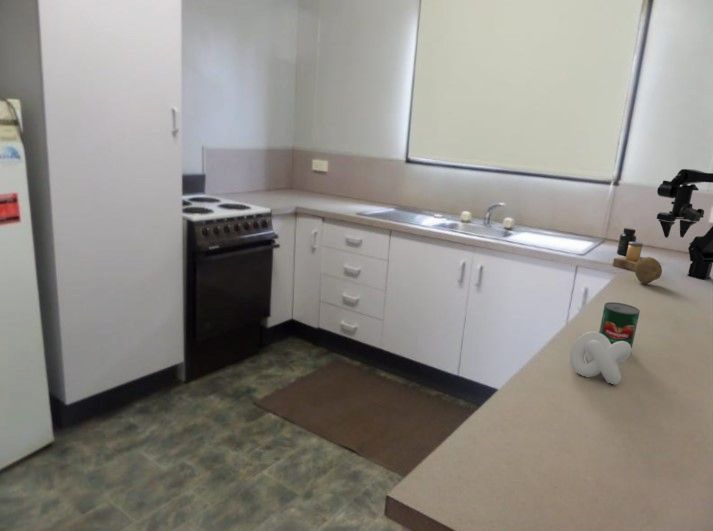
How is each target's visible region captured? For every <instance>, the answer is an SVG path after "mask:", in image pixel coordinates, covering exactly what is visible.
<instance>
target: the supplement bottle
mask: <svg viewBox="0 0 713 531" xmlns="http://www.w3.org/2000/svg"><path fill="white" fill-rule="evenodd" d="M635 234H636V229H634V228H630V227H625V228H623V233H622V234H620V236H619V240H618V245H617V251H616V254H618V255H620V256H623V257H626V255H627V250H628V245H629V242H637V236H636V235H635Z"/></svg>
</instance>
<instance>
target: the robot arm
mask: <svg viewBox="0 0 713 531" xmlns="http://www.w3.org/2000/svg"><path fill="white" fill-rule="evenodd" d="M701 183H713V172H712V173H711V172H704V171H701V170H698V169H690V168H682V169H680V170H679V171H678V173H677V174H676V176H674V177H673V178H672V179H671V180H670V181H669V180H663V181H662V183H661V184H660V185H659V187H658V188H657V191H656V192H657V195H658V196H659V197H662V198H668V199H674V201H672V200H671V202H670V204H671V205H672V209H671V211H670V210H669V211H668V212H658V213H657V215H656V219H657V221H658V222H659V224H660V225H661V229H662V232H663V237H665V239H668V238H669V235H670V232H671V230H672V227H673V225H674V224H676V222H675V221H676V220H679V237H680V238H684V236H685V235H686V234H687V232H688V230H689V229H690V228H691V227H692V226H693V225H695V224H697V223H698V222H700V219H701V218H704V215H705V210H704V209H703V208H697V209H696V208H693V203H691V201H692V200H691V199H692V196H693V192H694V191H699V188H698V186H696V184H701ZM687 249H688V253H689V260H690V262H691V263H690V265H689V269H688V273H687V276H689V277H693V278H696V279H700V280H708V279H712V276H711V272H712V268H713V225H712V226H711V227H710V228H709V230H708V231H707V232H706V233H705V234H704V235H702V236H699V235H698V236H695V237H694V238H693V239H692V242H689V246H688V248H687Z"/></svg>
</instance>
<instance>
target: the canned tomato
mask: <svg viewBox="0 0 713 531" xmlns="http://www.w3.org/2000/svg"><path fill="white" fill-rule="evenodd" d="M640 312H641V311H640V309H639V308H638V307H636V306H633V305H629V304H626V303H622V302H613V301H610V302H605V303H604V308H603V311H602V317H601V322H600V327H599V331H598V332H599V333H601V334H603V335H604V336H606V337H607V338H608V340H609V341H610V343H611V345H612V344H613V343H615V342H618V341H625V342H628V343H629V344H630V345H631V349H632V350H633V344H634V340H635V337H636V331H637V328H638V327H637V326H638V321H639V317H640Z"/></svg>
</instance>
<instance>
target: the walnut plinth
mask: <svg viewBox="0 0 713 531" xmlns="http://www.w3.org/2000/svg"><path fill="white" fill-rule="evenodd" d="M635 264H636V262H634V261H629V260H626V256H623V257H622V256H621V257H616V258H613V262H612V266H614V267H617V268H621V269H625V270H628V271H632V272H635Z"/></svg>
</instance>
